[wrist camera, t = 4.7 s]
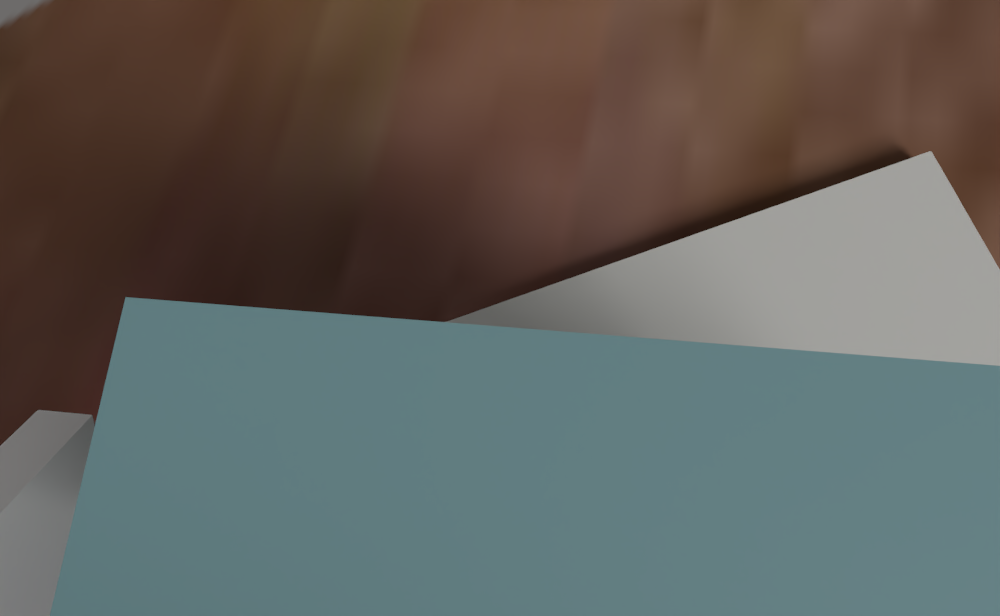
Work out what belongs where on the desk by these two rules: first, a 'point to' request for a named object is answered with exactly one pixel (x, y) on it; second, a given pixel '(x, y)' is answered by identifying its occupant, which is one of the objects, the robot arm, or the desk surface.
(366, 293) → the desk surface
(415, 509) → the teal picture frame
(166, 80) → the desk surface
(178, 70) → the desk surface
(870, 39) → the desk surface
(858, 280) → the mat
